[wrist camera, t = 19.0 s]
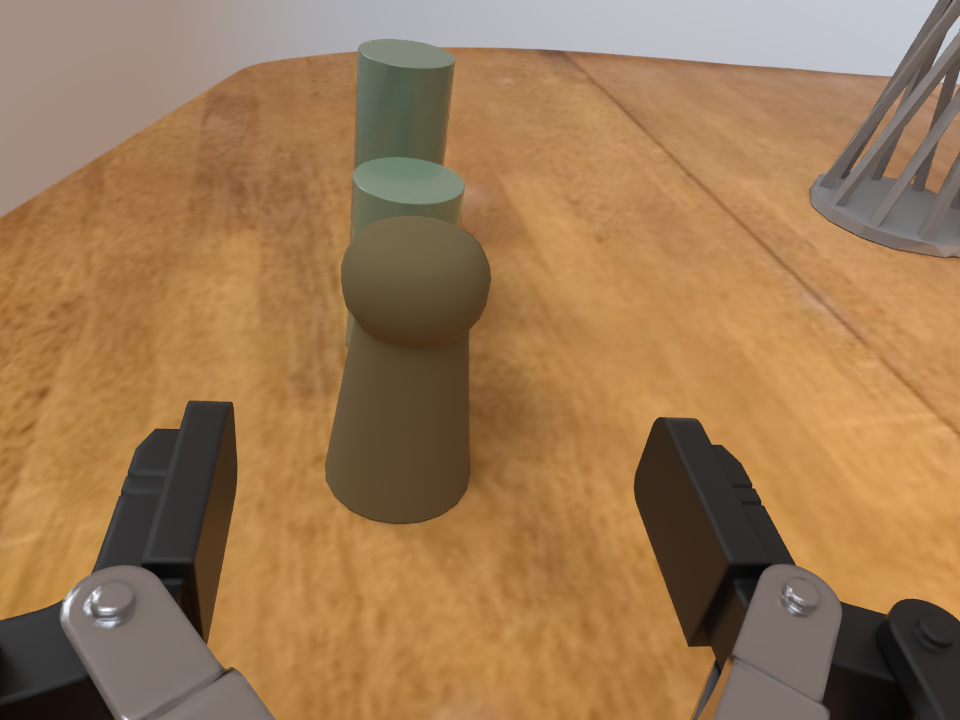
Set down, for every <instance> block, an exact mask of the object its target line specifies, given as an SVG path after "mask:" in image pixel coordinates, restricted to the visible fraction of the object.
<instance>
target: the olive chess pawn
mask: <svg viewBox="0 0 960 720" xmlns="http://www.w3.org/2000/svg"><path fill="white" fill-rule="evenodd" d="M341 282H342V291H343V296H344V299H345V303H346V307H347V308H348V310H349V311H350V312H351V314H352V315H353V317H354V318H355V319H354V324H353V329H352V334H351V339H350V344H349V349H348V354H347V359H346V364H345V369H344V374H343V379H342V384H341V388H340V393H339V398H338V403H337V408H336V413H335V418H334V423H333V428H332V433H331V438H330V443H329V448H328V453H327V458H326V463H325V469H326V481H327V483H328V485H329V487H330V488H331V490H332V492H333V494H334V496H335V497H336V498H337V499H338V500H339V501H341V502H342V503H343V504H344V505H345V506H346V507H347V508H349V509H350V510H352V511H354V512H356V513H358V514H360V515H362V516H365V517H367V518H369V519H372V520H377V521H383V522H388V523H394V524H397V523H413V522H421V521H424V520H427V519H430V518H433V517H436V516H439V515H441V514H443V513H444V512H445V511H447V510H448V509H450V508H451V507H453V506H454V505H455V504H457V503H458V501H459V500H460V498H461V497H462V495H463V494H464V492H465V491H466V489H467V485H468V479H469V474H470V465H469V329H470V328H471V327H472V326H473V325H474V324H475V323H476V322H477V321H478V320H479V318H480V316H481V314H482V312H483V310H484V308H485V306H486V303H487V298H488V293H489V287H490V282H491V275H490V266H489V263H488V260H487V258H486V256H485V253H484V251H483V249H482V247H481V245H480V243H479V242H478V241H477V240H476V239H475V238H474V237H473V236H472V235H471V234H469V233H468V232H466V231H464V230H462V229H460V228H459V227H457V226H455V225H453V224H451V223H448V222H445V221H442V220H439V219H435V218H429V217H423V216H398V217H390V218H386V219H383V220H380V221H377V222H374V223H371V224H369V225H367V226H366V227H364V228H363V229H362V230H360V231H359V232H358V233H357V235H356V236H355V237H354V239H353V240H352V241H351V243H350V245H349V246H348V248H347V250H346V252H345V255H344V258H343V262H342V265H341Z"/></svg>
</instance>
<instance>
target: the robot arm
mask: <svg viewBox="0 0 960 720" xmlns="http://www.w3.org/2000/svg"><path fill="white" fill-rule="evenodd" d="M236 485H237V451H236V436H235V420H234V407H233V403H232V402H218V401H189V402H188V404H187V406H186V409H185V413H184V416H183V420H182V423H181V426H180V429H155V430H154V431H153V432H152V433H151V434H150V435H149V436H148V437H147V438H146V439H145V440H144V441H143V442H142V443H141V444H140V445H139V446H138V447H137V448H136V450H135V453H134V456H133V459H132V461H131V464H130V467H129V470H128V476H127V477H126V479H125V481H124V484H123V487H122V490H121V496H119V499H118V501H117V504H116V507H115V510H114V513H113V516H112V519H111V521H110V524H109V527H108V530H107V533H106V536H105V539H104V541H103V544H102V547H101V550H100V553H99V556H98V558H97V561H96V564H95V566H94V569H93V571H92V573H91V574H90V575H89V576H87V577H85V578H84V579H83V580H81V581H80V582H79V583H77V584H76V585H75V586H74V587H73V588H72V589H71V591H70V592H69V593H68V594H67V596H66V598H65V599H63V600H61V601H60V602H58V603H56V604H54V605H51V606H49V607H47V608H44V609H41V610H38V611H34V612H31V613H27V614H23V615H20V616H16V617H12V618H8V619H5V620H1V621H0V720H275V718H274V717H273V716H272V714H271V713H270V711H269V710H268V709H267V707H266V706H265V705H264V703H263V702H262V700H261V699H260V698H259V696H258V695H257V694H256V692H255V691H254V689H253V688H252V687H251V685H250V684H249V683H248V681H247V680H246V679H245V677H244V676H243V675H242V674H241V673H240V672H239V671H238V670H236V669H235V668H233V667H230V668H228V669H225V668H223V667H222V666H221V665H220V663H219V662H218V661H217V659H216V658H215V657H214V655H213V654H212V652H211V651H210V650H209V648H208V647H207V643H208V638H209V632H210V627H211V622H212V617H213V611H214V606H215V601H216V595H217V590H218V585H219V580H220V574H221V569H222V564H223V558H224V553H225V548H226V543H227V537H228V532H229V527H230V521H231V516H232V511H233V506H234V500H235V494H236ZM634 493H635V500H636V504H637V507H638V509H639V512H640V515H641V518H642V520H643V523H644V526H645V529H646V531H647V534H648V537H649V540H650V542H651V545H652V548H653V551H654V553H655V556H656V559H657V562H658V564H659V567H660V570H661V572H662V575H663V578H664V581H665V583H666V586H667V589H668V592H669V594H670V597H671V600H672V603H673V605H674V608H675V611H676V614H677V616H678V619H679V622H680V625H681V627H682V630H683V633H684V636H685V638H686V641H687V644H688V647H699V646H711V647H712V650H713V652H714V655H715V657H716V658H715V660H714V662H713V664H712V666H711V667H710V670H709V672H708V675H707V678H706V680H705V683H704V685H703V688H702V691H701V693H700V696H699V698H698V701H697V703H696V706H695V709H694V711H693V714H692V716H691V719H690V720H960V621H959V620H958V619H956V618H955V617H954V616H953V615H951V614H950V613H949V612H947V611H946V610H944V609H942V608H941V607H939V606H937V605H934V604H932V603H929V602H927V601H923V600H918V599H905V600H901V601H899V602H897V603H896V604H895V605H894V606H893V607H892V609H891V610H890V611H889V613H888V614H887V615H886V614H882V613H879V612H875V611H872V610H868V609H864V608H861V607H857V606H854V605H850V604H847V603H844V602H841V601H839V599H838V597H837V595H836V594H835V593H834V591H833V590H832V589H831V587H830V586H829V585H828V584H827V583H826V582H825V581H823V580H822V579H821V578H820V577H818V576H817V575H815V574H814V573H812V572H810V571H808V570H806V569H804V568H801V567H798V566H796V564H795V563H794V561H793V559H792V557H791V555H790V553H789V551H788V550H787V548H786V546H785V544H784V542H783V540H782V538H781V537H780V535H779V533H778V531H777V529H776V527H775V525H774V524H773V522H772V520H771V518H770V516H769V514H768V512H767V511H766V509H765V507H764V506H762V505H761V499H760V498H759V496H758V494H757V492H756V490H755V489H753V488H752V483H751V481H750V479H749V477H748V475H747V473H746V472H745V470H744V468H743V466H742V464H741V463H740V462H739V461H738V460H737V459H736V458H735V457H734V456H733V455H732V454H731V453H729V452H728V451H727V450H726V449H725V448H724V447H723V446H722V445H712V444H711V442H710V440H709V438H708V436H707V435H706V433H705V431H704V429H703V427H702V425H701V423H700V422H699V421H698V420H697V419H695V418H668V417H659V418H657V419H656V420H655V422H654V424H653V426H652V429H651V432H650V434H649V437H648V440H647V443H646V445H645V448H644V451H643V454H642V457H641V459H640V462H639V465H638V468H637V471H636V474H635V481H634Z"/></svg>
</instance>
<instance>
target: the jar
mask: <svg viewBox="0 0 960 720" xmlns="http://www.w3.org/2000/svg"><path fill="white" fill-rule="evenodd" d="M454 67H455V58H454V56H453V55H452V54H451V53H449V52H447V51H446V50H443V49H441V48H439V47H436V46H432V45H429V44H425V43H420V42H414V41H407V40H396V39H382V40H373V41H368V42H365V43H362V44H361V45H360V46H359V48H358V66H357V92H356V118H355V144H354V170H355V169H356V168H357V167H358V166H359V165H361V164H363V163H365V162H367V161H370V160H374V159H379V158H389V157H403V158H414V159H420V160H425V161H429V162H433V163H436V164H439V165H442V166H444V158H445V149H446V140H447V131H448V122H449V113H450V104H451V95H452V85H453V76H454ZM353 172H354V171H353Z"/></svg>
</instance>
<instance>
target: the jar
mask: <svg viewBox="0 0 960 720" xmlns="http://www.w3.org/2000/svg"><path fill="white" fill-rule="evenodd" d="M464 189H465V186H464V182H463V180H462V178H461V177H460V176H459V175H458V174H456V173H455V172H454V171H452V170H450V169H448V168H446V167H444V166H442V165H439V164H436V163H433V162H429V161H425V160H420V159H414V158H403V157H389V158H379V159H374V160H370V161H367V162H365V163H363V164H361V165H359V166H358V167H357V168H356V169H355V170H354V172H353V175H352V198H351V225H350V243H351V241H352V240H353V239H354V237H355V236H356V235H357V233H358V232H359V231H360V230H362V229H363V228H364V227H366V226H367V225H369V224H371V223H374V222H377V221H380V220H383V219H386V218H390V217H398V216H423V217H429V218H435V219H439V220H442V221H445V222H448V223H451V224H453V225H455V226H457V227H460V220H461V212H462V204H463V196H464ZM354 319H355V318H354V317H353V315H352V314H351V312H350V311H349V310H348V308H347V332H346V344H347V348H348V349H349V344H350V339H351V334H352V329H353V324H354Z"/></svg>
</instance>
